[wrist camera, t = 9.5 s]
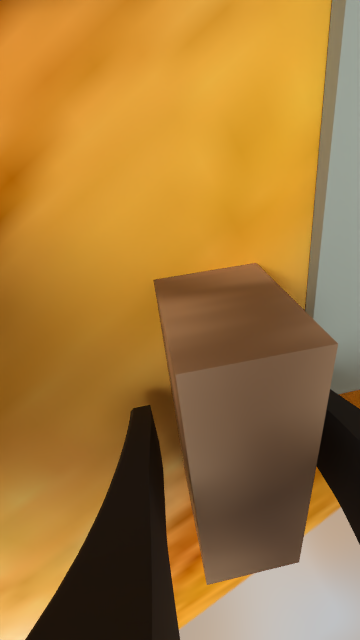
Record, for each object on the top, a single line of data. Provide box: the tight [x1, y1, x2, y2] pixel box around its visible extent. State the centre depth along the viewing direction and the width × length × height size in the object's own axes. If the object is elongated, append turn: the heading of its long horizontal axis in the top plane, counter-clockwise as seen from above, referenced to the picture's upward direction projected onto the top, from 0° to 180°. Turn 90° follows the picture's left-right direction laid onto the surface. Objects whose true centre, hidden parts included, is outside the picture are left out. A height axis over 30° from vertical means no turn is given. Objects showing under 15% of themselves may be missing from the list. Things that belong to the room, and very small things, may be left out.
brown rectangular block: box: [154, 263, 338, 585], centre depth 11 cm, size 4×10×5 cm, turn 6°
